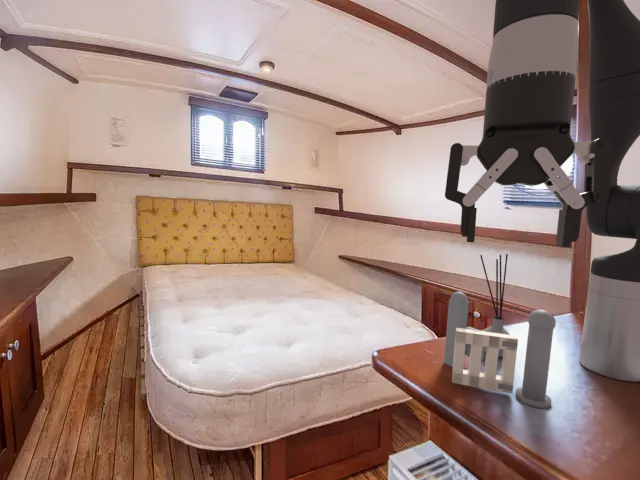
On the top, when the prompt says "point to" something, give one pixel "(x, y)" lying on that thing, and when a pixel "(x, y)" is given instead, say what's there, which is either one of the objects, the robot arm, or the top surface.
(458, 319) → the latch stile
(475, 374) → the gate
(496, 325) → the reed diffuser
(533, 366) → the hinge post
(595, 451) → the top surface
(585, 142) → the robot arm
